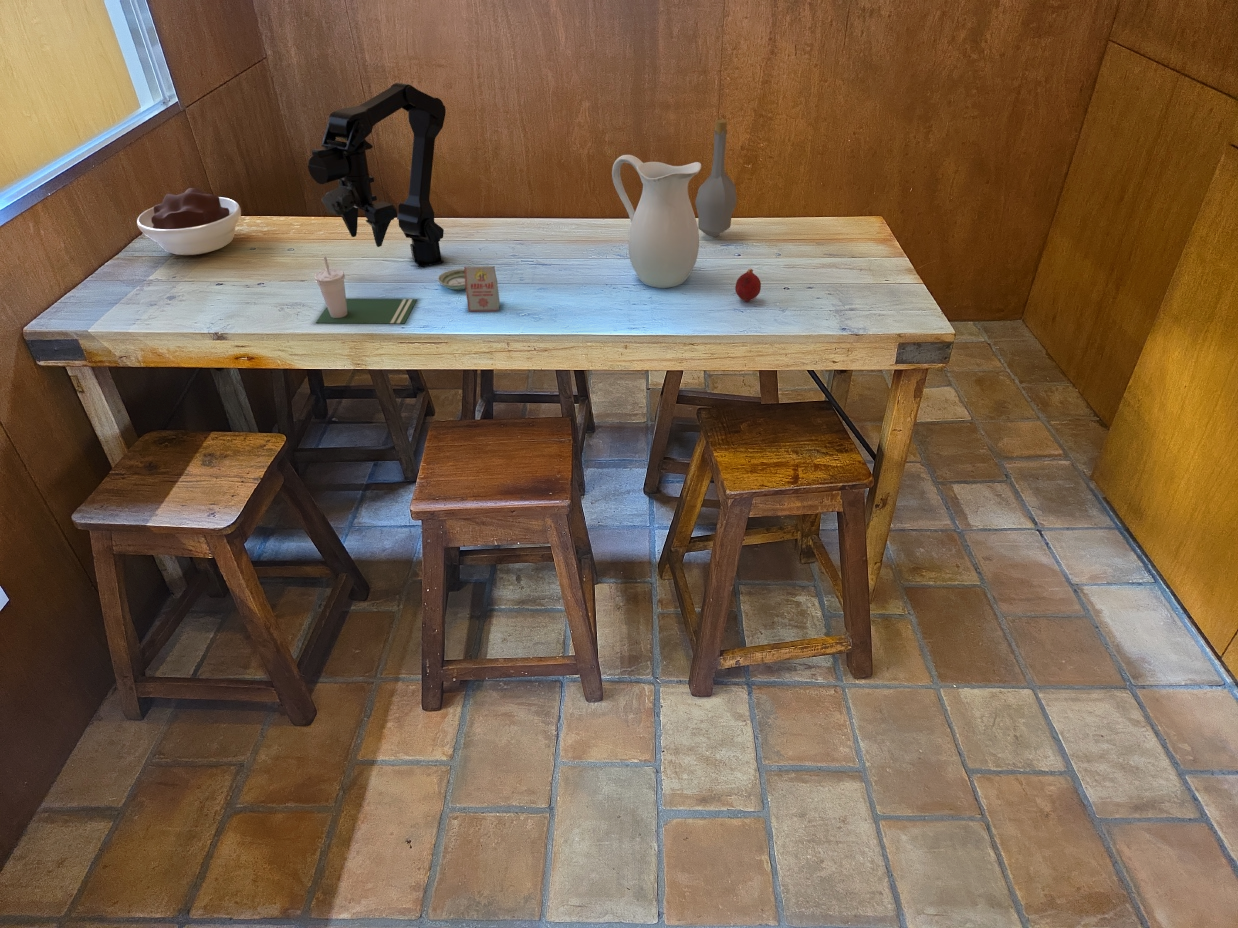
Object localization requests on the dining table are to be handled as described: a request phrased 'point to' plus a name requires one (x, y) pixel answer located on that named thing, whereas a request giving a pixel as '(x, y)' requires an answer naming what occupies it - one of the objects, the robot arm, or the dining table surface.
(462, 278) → the saucer
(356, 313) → the cloth
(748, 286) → the onion
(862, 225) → the dining table surface
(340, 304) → the smoothie
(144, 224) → the bowl of brown food
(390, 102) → the robot arm
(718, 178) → the bottle
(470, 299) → the tan food box
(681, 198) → the pitcher
